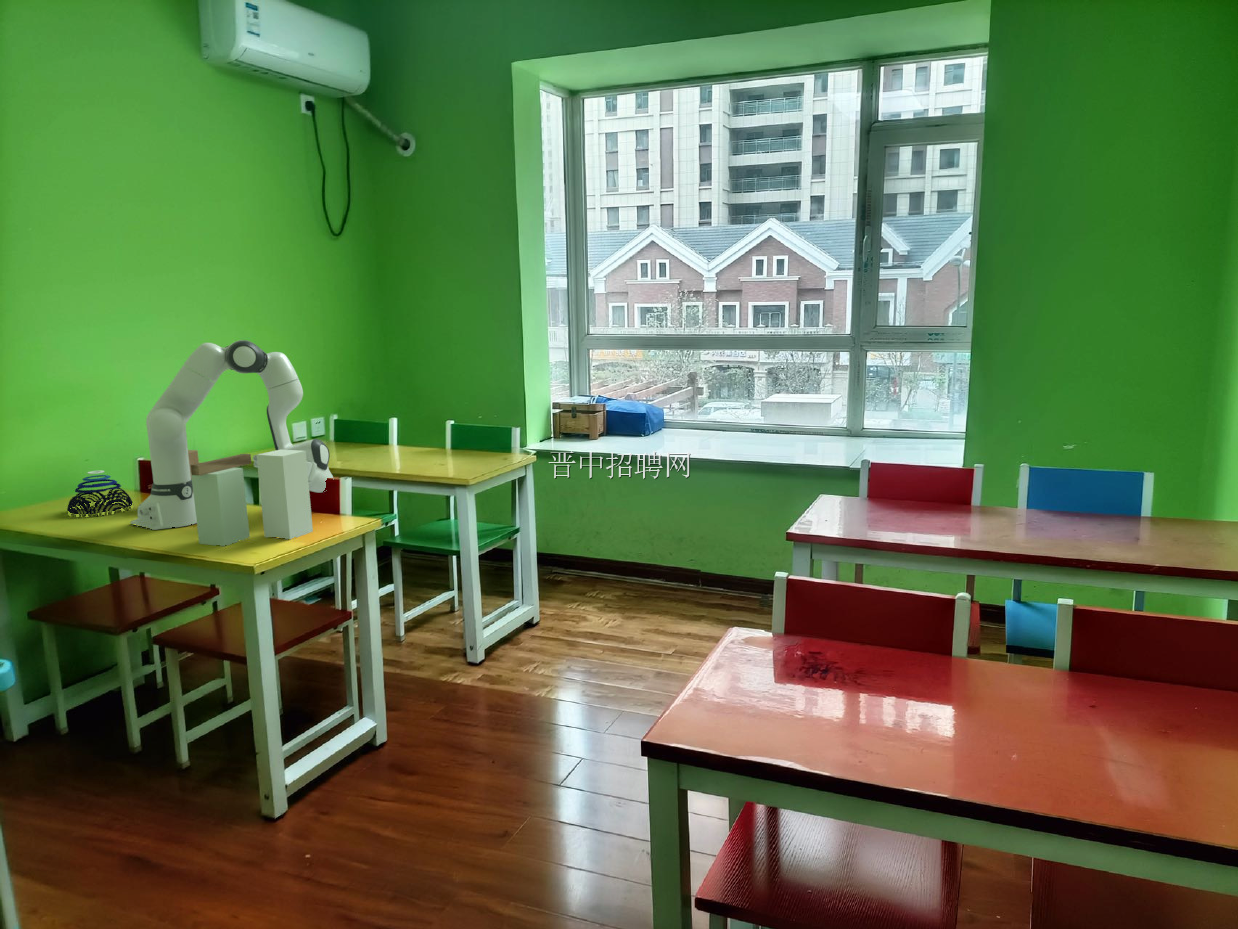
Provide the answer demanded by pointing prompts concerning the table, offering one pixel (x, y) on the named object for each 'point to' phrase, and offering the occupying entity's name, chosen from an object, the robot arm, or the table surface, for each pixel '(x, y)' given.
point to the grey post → (284, 493)
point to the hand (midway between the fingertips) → (265, 458)
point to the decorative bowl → (74, 500)
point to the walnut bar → (220, 464)
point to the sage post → (221, 507)
